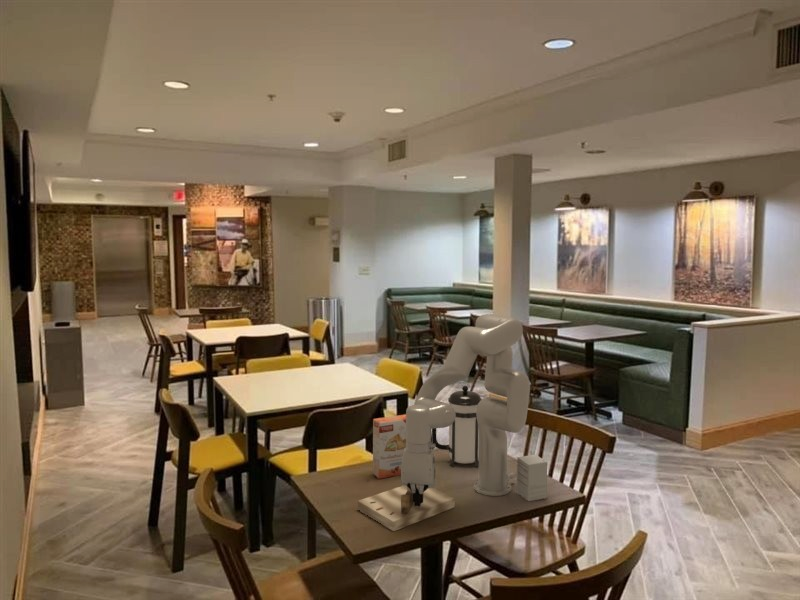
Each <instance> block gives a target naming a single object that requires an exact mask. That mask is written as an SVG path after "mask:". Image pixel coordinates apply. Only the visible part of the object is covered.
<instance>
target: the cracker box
mask: <svg viewBox="0 0 800 600" xmlns="http://www.w3.org/2000/svg"><path fill="white" fill-rule="evenodd" d="M372 425H373V427H372V474H373V475H374V476H375V477H376V478H377V479H378V480H379V479H385V478H391V477H395V476H401V467H402V458H403V452H404V449H405V448H406V413H404V414H399V415H393V416H385V417H378V418H373V419H372Z"/></svg>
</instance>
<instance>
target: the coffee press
mask: <svg viewBox="0 0 800 600" xmlns="http://www.w3.org/2000/svg"><path fill="white" fill-rule="evenodd" d="M461 389H462V390H457V391H454V392H452V393H451V394H450V395H449V397H448V398H447V400H448V404H449V405H450V406H452V407H453V408H454V410H455V413H456V417H455V420H454V422H453V423H452V424H451V425H450V426H448V444H440V443H439V441H438V439H437V428H432V429H431V442H432V443H433V444H435V449H439V450H442V451H443V450H444V451H448V457H449V459H450V462H449V467H452V468H454V467H455V466H456V465H457V464H473V466H474V467H475V469H477V468H478V469H479V427H478V421H477V416H476V409H477V405H478V403H479V402H480V401H481V400H482V399H483V398H482V397H481V396H480V394H479V393H477V392H475V391H472V390H469V387H468V385H463V386H462V388H461Z"/></svg>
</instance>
